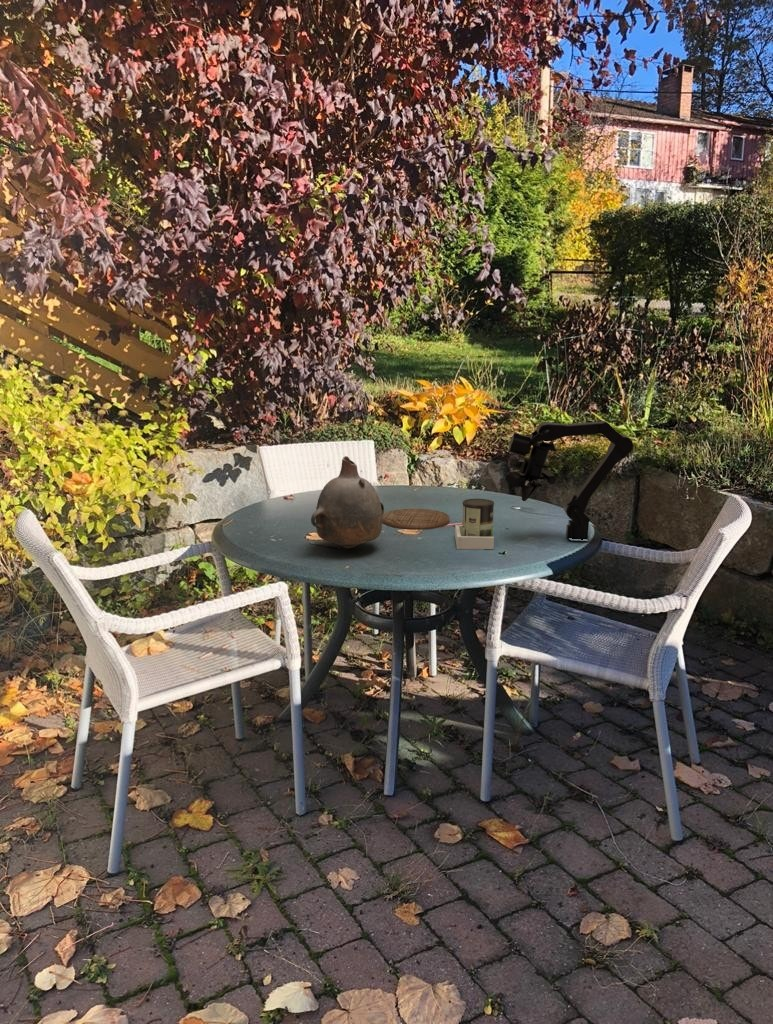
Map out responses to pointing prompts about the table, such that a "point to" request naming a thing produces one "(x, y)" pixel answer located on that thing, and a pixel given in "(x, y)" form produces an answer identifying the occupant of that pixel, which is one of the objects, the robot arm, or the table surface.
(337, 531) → the jug
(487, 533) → the coffee can
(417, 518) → the trivet
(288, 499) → the table surface
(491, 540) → the frame
